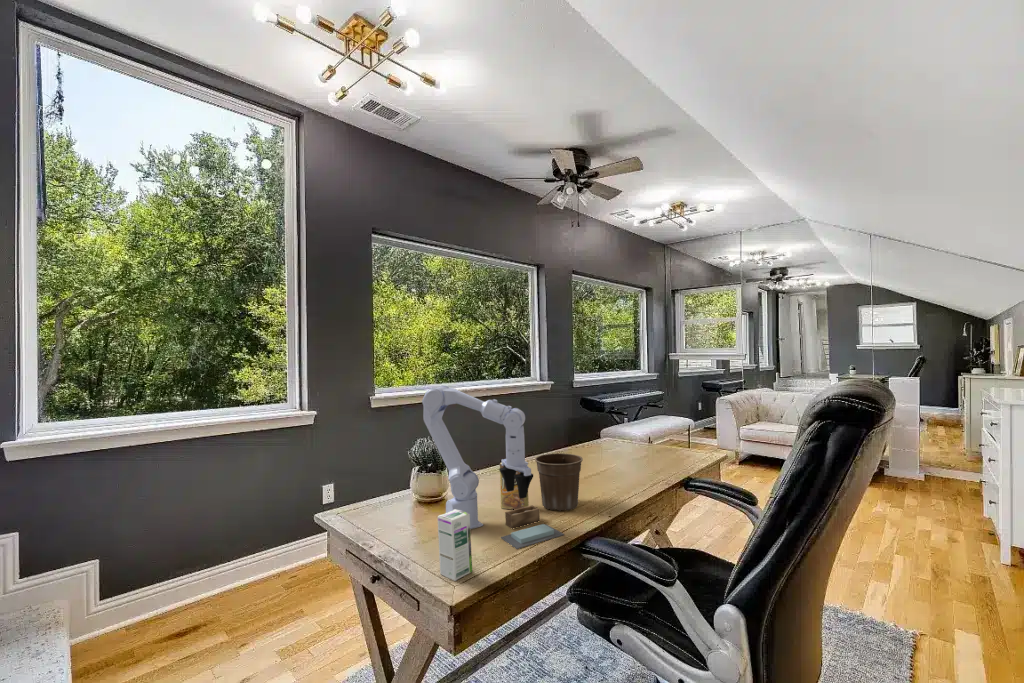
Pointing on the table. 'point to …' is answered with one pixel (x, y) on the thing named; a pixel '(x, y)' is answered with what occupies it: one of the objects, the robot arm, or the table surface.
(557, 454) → the plant pot
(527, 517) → the crate
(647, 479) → the table surface
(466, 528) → the syrup box
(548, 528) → the lid
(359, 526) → the table surface
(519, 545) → the mat
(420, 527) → the table surface
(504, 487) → the candy box
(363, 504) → the table surface
